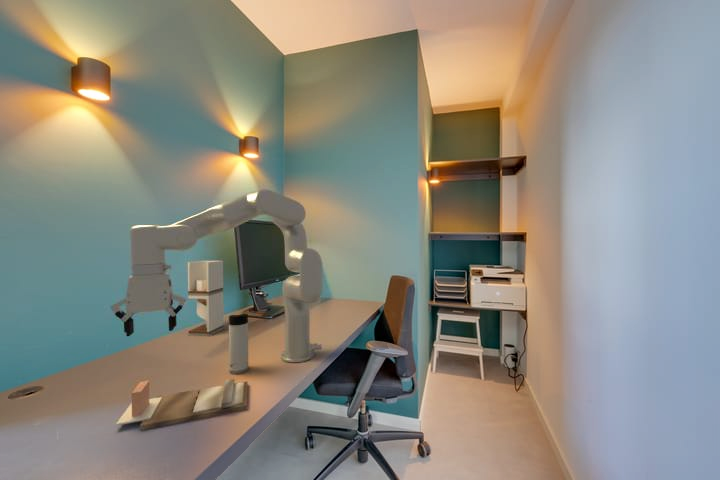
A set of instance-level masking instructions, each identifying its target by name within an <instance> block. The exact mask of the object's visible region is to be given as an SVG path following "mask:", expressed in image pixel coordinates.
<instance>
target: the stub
mask: <svg viewBox="0 0 720 480" xmlns="http://www.w3.org/2000/svg"><path fill="white" fill-rule="evenodd" d="M161 400H162V397H159V398H157V397H154V398H150V380H144V381H140V382H139V383H138V385H136V387H135V388H134V389H133V390H132V392H131V402H130V404H129V406H128V407H127V408H126V409H125V411H124V412H123V414H122V415H121V416H120V418H119V419H118V421H117V422H116V423H115V426H120V425H126V424H131V423H137V422H143V420H149V419H151V417H152V416H153V414H154V412H155V410H156V409H157V407H158V405H159V403H160V401H161Z"/></svg>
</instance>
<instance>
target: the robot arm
mask: <svg viewBox="0 0 720 480" xmlns="http://www.w3.org/2000/svg"><path fill="white" fill-rule="evenodd" d="M306 214H307V213H306V209H305V207H304V206H303V204H301V203H300V202H298V201H297V200H295V199H293V198H290V197H287V196H286V195H283V194H280V193H279V192H276V191H272V190H270V189H266V188H265V189H264V188H263V189H257V190H253V191H249V192H248V193H245V194H242V195H241V196H238V197H235V198H233V199H230V200H227V201H225V202H223V203H220V204H218V205H216V206H213V207H210V208H207V210H205V211H202V212H200V213H198V214H195V215H191V216H190V217H187V218H185V219H183V220H180V221H177V222H175V223H173V224H169V225H162V226H160V225H156V224H155V225H153V224H151V225H144V224H143V225H142V224H141V225H134V226H132V227H130V230H129V240H130V241H129V242H130V244H129V245H130V261H131V262H130V264H131V265H130V267H131V275H130V276H129V277H128V280H127V286H126V294H125V298H124V299H121V300H119V301H118V302H116V303H114V304H112V305H110V310H111V311H112V312H113V313H114V315H115V316H116V317H117V318H118V319H120V320H121V322H123V332H124V333H126V337H131V335H133V334H134V332H135V329H134V328H135V327H134V318H133V316H134V315H135V314H144V313H154V312H163V311H165V312H166V313H167V314H168V315H169V316H168V331H170V332H172V331H173V330H174V329H175V327H177V314H178V313H179V312H180V311H181V310H182V309H183V308H184V306H185V304H186V303H187V299H188V298H186V297H183V296H181V295H178V294H176V293H173V284H172V279H171V276H170V273H168V272H167V271H171V270H172V264H167V262H166V257H165V255H166V254H165V252H166V250H167V251H180V252H183V251H188V250H190V249H191V248H193V247H195V245H196V244H197V242H198V240H201V239H203V238H205V237H207V236H209V235H210V236H211V235H213V234H214V235H215V234H218V233H224V232H227V231H229V230H233V229H234V228H236V227H238V226H240V225H243V224H244V223H247V222H248V221H251V220H253V219H254V218H255V219H256V218H257V217H259V216H264V215H267V216H269V219H270V221H271V222H272V223H273V224H274V225H275V226H277V227H278V228H279V229H280V231H281V233H282V234H283V241H284V264H285V267H286V269H287V270H288V271H290V272H294V273H299V275H295V274H294V275H290V276H288V277H287V278H286V279H284V281H283V284H282V287H281V288H282V289H281V291H282V292H281V293H282V298H283V304H284V351H282V352H281V354H280V360H282V361H284V362H287V363H302V362H307V361H309V360H310V359H312V358H313V357H314V354H315V353H314V352H315V351H319V350H322V349H323V348H322V347H323V346H322V344H318V343H316V342H315V343H311V340H310V339H311V338H310V337H311V336H310V335H311V333H310V332H311V331H310V330H311V328H310V325H311V324H310V322H311V318H310V313H311V312H310V311H311V310H310V306H309V305H311V304H315V303H317V302H318V301H319V300H320V298H321V297H322V293H323V261H322V258H321V255H320V254H319V252H318V251H317V250H315V249H313V248H308V242H307V241H308V240H307V232H306V230H305V227H304V225H303V224H302V223H303V222H304V221H305V218H306ZM166 272H167V273H166ZM174 301H177V302H178V306H176V307H174V306H173V305H174ZM124 305H125V310H126V312H125V311H124V310H122V309H121V307H122V306H124Z"/></svg>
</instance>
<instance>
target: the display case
mask: <svg viewBox="0 0 720 480" xmlns="http://www.w3.org/2000/svg"><path fill="white" fill-rule="evenodd" d="M187 299H195V300H196V315H197V316H198V317H199V318H201V319H202V320H204V321H205V322H204V324H202V325H199V326H197V327H194V328H192V329H191V330H188V336H194V337H195V336H196V337H210V335H211V336H212V335H215V334H217V333H218V332H220V331H222V330H224V260H197V261H188V262H187ZM221 329H222V330H221ZM219 330H220V331H219Z"/></svg>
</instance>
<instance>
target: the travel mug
mask: <svg viewBox="0 0 720 480" xmlns="http://www.w3.org/2000/svg"><path fill="white" fill-rule="evenodd" d="M228 363H229V364H228V371H229V373H230V374H231V375H232V374H233V375H238V374H239V375H240V374H244V373H246V372H247V371H248V370H249V314H248V313H240V314H230V315H228Z"/></svg>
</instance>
